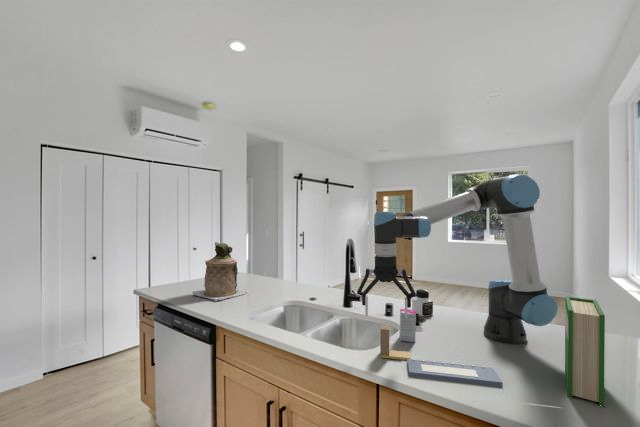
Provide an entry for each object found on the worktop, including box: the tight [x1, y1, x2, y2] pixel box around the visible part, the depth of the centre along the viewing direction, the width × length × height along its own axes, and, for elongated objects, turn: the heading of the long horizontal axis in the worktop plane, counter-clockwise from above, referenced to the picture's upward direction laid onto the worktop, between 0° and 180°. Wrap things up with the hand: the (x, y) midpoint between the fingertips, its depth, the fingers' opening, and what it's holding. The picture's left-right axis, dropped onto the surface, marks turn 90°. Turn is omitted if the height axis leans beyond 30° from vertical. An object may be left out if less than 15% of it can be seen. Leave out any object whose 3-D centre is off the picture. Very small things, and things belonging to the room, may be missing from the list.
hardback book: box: [564, 296, 606, 407], centre depth 91 cm, size 18×7×24 cm, turn 144°
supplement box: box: [399, 308, 417, 344], centre depth 125 cm, size 6×6×12 cm
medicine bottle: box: [411, 289, 434, 318], centre depth 157 cm, size 7×7×12 cm
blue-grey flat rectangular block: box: [407, 358, 503, 388], centre depth 98 cm, size 26×9×2 cm, turn 77°
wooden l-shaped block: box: [379, 323, 411, 361], centre depth 110 cm, size 10×5×10 cm, turn 77°
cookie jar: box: [192, 241, 249, 302], centre depth 192 cm, size 25×25×32 cm
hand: (386, 315), depth 111 cm, fingers open, 13 cm apart
